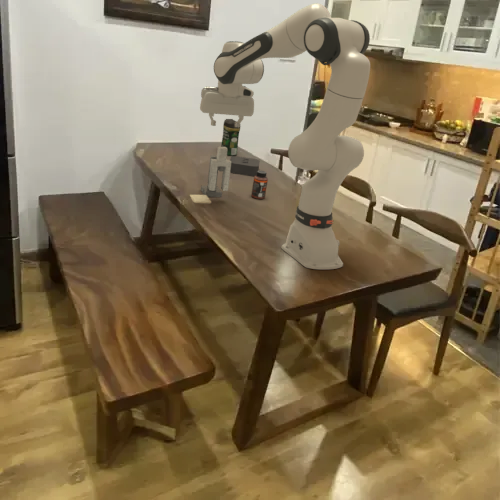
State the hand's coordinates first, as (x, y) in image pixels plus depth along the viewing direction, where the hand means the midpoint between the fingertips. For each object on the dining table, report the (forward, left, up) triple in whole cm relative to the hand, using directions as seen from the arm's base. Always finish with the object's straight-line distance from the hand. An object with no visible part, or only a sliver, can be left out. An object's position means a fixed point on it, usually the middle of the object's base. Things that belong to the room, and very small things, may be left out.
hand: (225, 126), depth 185 cm
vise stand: (+5, 0, -30) cm, 31 cm away
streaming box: (+43, -26, -31) cm, 59 cm away
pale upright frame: (0, 0, -25) cm, 25 cm away
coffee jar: (+73, -27, -31) cm, 84 cm away
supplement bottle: (+5, -20, -31) cm, 37 cm away
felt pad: (+1, +6, -30) cm, 31 cm away
